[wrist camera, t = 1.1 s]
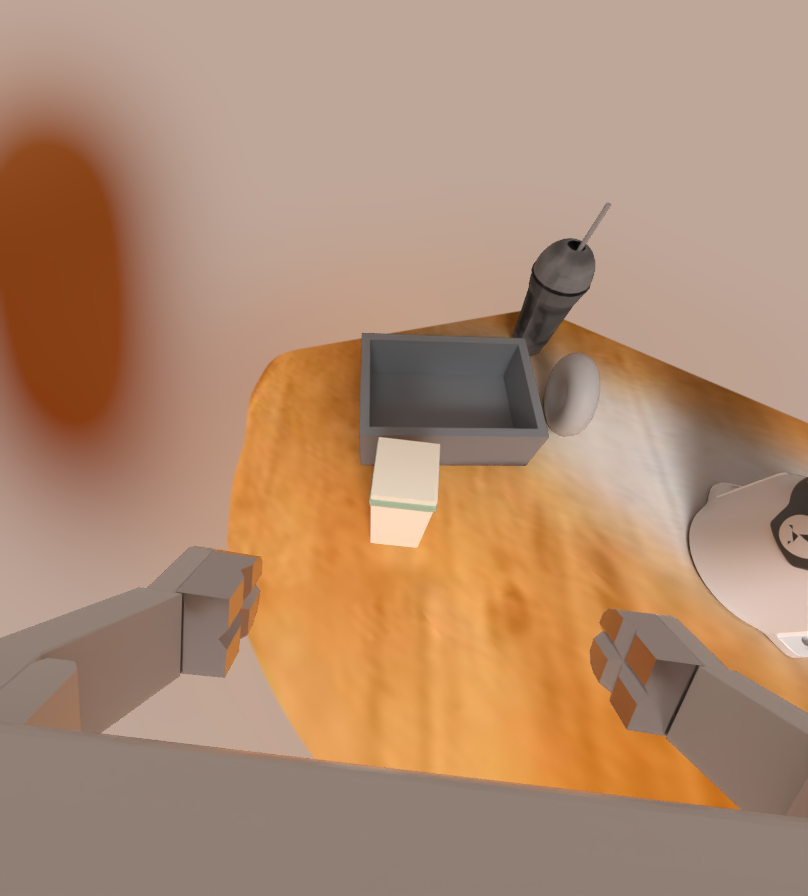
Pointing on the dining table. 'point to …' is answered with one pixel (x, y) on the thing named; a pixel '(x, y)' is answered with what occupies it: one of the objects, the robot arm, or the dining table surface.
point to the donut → (572, 394)
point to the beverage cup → (555, 288)
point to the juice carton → (403, 491)
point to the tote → (451, 397)
